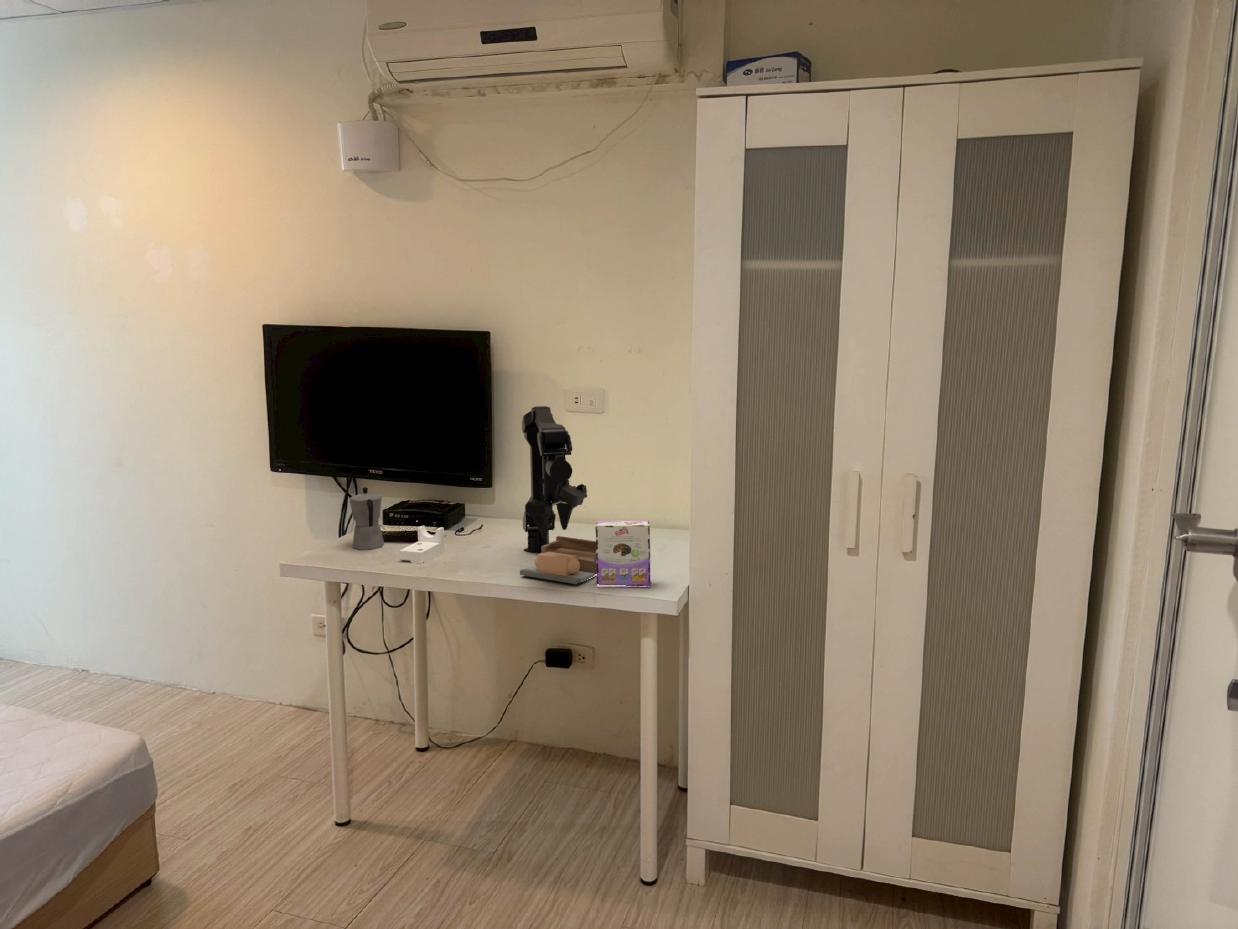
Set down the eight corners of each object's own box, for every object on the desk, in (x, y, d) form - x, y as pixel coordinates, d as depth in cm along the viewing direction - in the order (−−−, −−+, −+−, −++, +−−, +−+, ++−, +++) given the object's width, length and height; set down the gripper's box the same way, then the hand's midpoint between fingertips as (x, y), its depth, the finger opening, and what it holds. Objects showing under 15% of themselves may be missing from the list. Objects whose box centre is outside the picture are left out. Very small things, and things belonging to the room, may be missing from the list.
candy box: (650, 581, 228) (650, 519, 225) (650, 588, 222) (650, 524, 219) (597, 581, 228) (596, 519, 226) (595, 588, 223) (595, 524, 220)
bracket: (423, 550, 260) (422, 525, 258) (444, 552, 257) (443, 527, 256) (399, 562, 247) (398, 536, 246) (422, 564, 245) (420, 538, 244)
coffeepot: (348, 542, 268) (345, 485, 265) (380, 539, 272) (377, 482, 269) (357, 555, 254) (353, 494, 251) (390, 551, 258) (387, 491, 255)
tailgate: (539, 564, 239) (519, 570, 231) (594, 573, 230) (576, 579, 223) (539, 568, 239) (519, 574, 231) (594, 577, 230) (576, 584, 223)
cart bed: (558, 560, 248) (558, 535, 247) (614, 568, 239) (614, 543, 238) (541, 567, 240) (541, 542, 239) (598, 576, 232) (598, 551, 230)
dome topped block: (541, 566, 236) (541, 550, 236) (583, 573, 230) (584, 557, 229) (530, 570, 232) (530, 553, 231) (573, 577, 225) (573, 560, 225)
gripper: (560, 484, 216) (561, 546, 218) (598, 471, 232) (599, 529, 234) (522, 480, 221) (524, 540, 224) (563, 468, 237) (564, 524, 240)
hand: (554, 533), depth 230 cm, fingers open, 9 cm apart
